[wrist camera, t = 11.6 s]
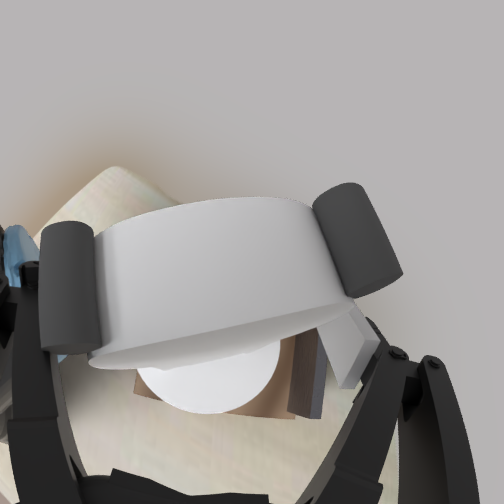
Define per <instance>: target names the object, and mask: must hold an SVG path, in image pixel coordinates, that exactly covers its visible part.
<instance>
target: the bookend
mask: <svg viewBox="0 0 504 504" xmlns="http://www.w3.org/2000/svg"><path fill="white" fill-rule="evenodd" d="M326 367H327V353H326V351H325V348H324V346H323V343H322V340H321V338H320V335H319V333H318V330H317V328H316V327H315V328H312V329H310V330H307V331H304V332H302V333H299V334H296V336H295V346H294V356H293V365H292V374H291V382H290V390H289V398H288V405H287V412H289V413H293V414H296V415H299V416H302V417H305V418H309V419H321V413H322V405H323V397H324V388H325V378H326Z"/></svg>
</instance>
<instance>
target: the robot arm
mask: <svg viewBox="0 0 504 504" xmlns="http://www.w3.org/2000/svg"><path fill="white" fill-rule="evenodd" d="M39 256H40V251H39V249H38V247H37V246H36V244H35V242H34V241H33V239H32V238H31V237H30V236H29V235H28V233H27V231H26V230H25V228H24V227H23V226H21V225H14V226H9V227H8V228H7V229H6V230H5V231H4V230H3V228H2V227H1V225H0V442H2V443H5V444H8V445H9V451H10V458H11V464H12V469H13V475H14V479H15V484H16V488H17V492H18V496H19V500H20V502H19V503H16V504H272V503H269V498H268V494H243V493H222V494H211V495H196V496H190V495H185V494H183V493H180V492H178V491H175V490H173V489H171V488H168V487H166V486H164V485H162V484H159V483H157V482H155V481H153V480H151V479H148V478H144V477H141V476H137V475H134V474H130V473H127V472H124V471H120V470H117V469H114V468H113V469H112V472H111V476H107V475H93V476H88V475H87V473H86V471H85V469H84V467H83V464H82V462H81V459H80V456H79V453H78V450H77V446H76V443H75V440H74V436H73V432H72V429H71V425H70V421H69V417H68V413H67V408H66V404H65V399H64V394H63V389H62V383H61V377H60V371H59V363H60V362H61V361H62V360H63V359H64V358H65V357H67V356H68V355H55V354H51V352H50V351H42V350H41V340H40V326H39V302H38V280H39ZM354 303H355V302H354ZM316 328H317V330H318V333H319V335H320V338H321V340H322V343H323V346H324V348H325V351H326V353H327V356H328V359H329V361H330V364H331V366H332V369H333V372H334V374H335V377H336V380H337V382H338V385H339V388H340V389H355V387H356V385H357V384H358V382H359V380H360V379H361V382H362V384H363V386H362V388H361V389H360V391H359V393H358V394H357V396H356V397H355V399H354V401H353V402H352V403H354V404H353V406H352V408H351V410H350V412H349V414H348V416H347V418H346V420H345V422H344V424H343V426H342V428H341V430H340V432H339V434H338V436H337V438H336V439H335V441H334V443H333V445H332V447H331V448H330V450H329V452H328V454H327V455H326V457H325V459H324V461H323V462H322V464H321V466H320V467H319V469H318V470H317V472H316V474H315V475H314V477H313V478H312V480H311V482H310V483H309V485H308V486H307V488H306V489H305V491H304V492H303V494H302V495H301V496H300V498H299V499H298V501H297V502H296V503H295V504H378V502H379V499H380V496H381V494H382V490H383V484H381V483H378V480H379V477H380V474H381V471H382V468H383V465H384V462H385V459H386V456H387V453H388V450H389V447H390V443H391V440H392V436H393V433H394V429H395V425H396V421H397V418H398V435H399V493H398V504H480V501H479V492H478V485H477V479H476V473H475V469H474V463H473V458H472V453H471V449H470V445H469V440H468V437H467V433H466V429H465V425H464V422H463V418H462V415H461V412H460V408H459V405H458V402H457V398H456V395H455V392H454V389H453V386H452V383H451V381H450V378H449V375H448V373H447V370H446V367H445V365H444V363H443V362H442V361H441V360H440V359H439V358H437V357H434V356H429V355H426V356H424V357H423V359H422V361H421V362H420V363H417V362H413V361H409V357H408V355H407V353H405V352H404V351H403V350H402V349H400V348H398V347H395V346H390V345H389V344H388V342H387V341H386V339H385V338H384V336H383V335H382V334H381V332H380V331H379V329H378V328H377V326H376V325H375V324H374V322H373V321H371V320H370V319H369V318H368V317H364V315H363V314H362V313H361V311H360V310H359V309H358V307H357V305H356V304H355V306H354V307H353V308H352V309H351V310H350V311H349V312H347V313H345V314H344V315H342V316H340V317H338V318H336V319H334V320H332V321H330V322H327V323H325V324H322V325H320V326H317V327H316Z"/></svg>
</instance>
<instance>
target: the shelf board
mask: <svg viewBox="0 0 504 504" xmlns="http://www.w3.org/2000/svg"><path fill="white" fill-rule="evenodd" d="M295 336H296V335H293V336H290V337H287V338H284V339H281V340H280V353H279V358H278V362H277V365H276V368H275V371H274V373H273V375H272V377H271V379H270V380H269V382H268V383H267V385H266V386H265V387H264V388H263V390H262V391H261V392H260V393H259V394H258V395H257V396H255V397H254V398H253V399H252V400H250V401H249V402H247V403H246V404H244V405H242V406H240V407H238V408H236V409H233V410H230V411H227V412H223V413H230V414H237V415H245V416H255V417H265V418H278V419H295V414H293V413H289V412H287V405H288V398H289V390H290V382H291V374H292V365H293V356H294V346H295ZM134 394H138V395H141V396H145V397H149V398H153V399H157V400H161V401H163V400H162V399H161V398H159V397H158V396H157V395H156V394H155V393H154V392H152V390H151V389H150V388H149V387H148V386H147V385H146V383H145V382H144V381H143V379H142V378H141V376H140V374H139V373H138V370H137V376H136V381H135V387H134Z"/></svg>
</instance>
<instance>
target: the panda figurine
mask: <svg viewBox="0 0 504 504" xmlns="http://www.w3.org/2000/svg"><path fill="white" fill-rule="evenodd" d="M312 208H313V209H312ZM312 208H311V207H309V206H307V205H306V204H304V203H301V202H298V201H296V200H291V199H286V198H276V197H236V198H222V199H213V200H206V201H199V202H193V203H187V204H182V205H177V206H172V207H168V208H164V209H159V210H155V211H152V212H148V213H144V214H141V215H138V216H134V217H131V218H129V219H126V220H123V221H121V222H119V223H117V224H115V225H112V226H111V227H109V228H107V229H105V230H104V231H102V232H101V233H99V234H98V235H96V236H95V237H94V232H93V230H92V228H91V227H90V226H88V225H87V224H85V223H82V222H78V221H63V222H58V223H54V224H51V225H49V226H47V227H45V228H44V229H43V231H42V233H41V242H40V256H39V280H38V302H39V326H40V340H41V350H42V351H50V352H51V354H55V355H75V354H83V353H87V356H88V362H89V365H91V366H92V367H95V368H100V369H137V370H138V373H139V374H140V376H141V378H142V379H143V381H144V382H145V383H146V385H147V386H148V387H149V388H150V389H151V390H152V392H154V393H155V394H156V395H157V396H158V397H159V398H161V399H162V400H163V401H165V402H167V403H168V404H170V405H172V406H174V407H176V408H179V409H181V410H184V411H188V412H192V413H199V414H216V413H222V412H227V411H230V410H233V409H236V408H238V407H240V406H242V405H244V404H246V403H247V402H249V401H250V400H252V399H253V398H254V397H255V396H257V395H258V394H259V393H260V392H261V391H262V390H263V388H264V387H265V386H266V385H267V383H268V382H269V380H270V379H271V377H272V375H273V373H274V371H275V368H276V365H277V362H278V358H279V353H280V340H281V339H284V338H287V337H290V336H293V335H296V334H299V333H302V332H304V331H307V330H310V329H312V328H315V327H317V326H320V325H322V324H325V323H327V322H330V321H332V320H334V319H336V318H338V317H340V316H342V315H344V314H345V313H347V312H349V311H350V310H351V309H352V308H353V307H354V306H355V303H354V300H353V298H359V297H362V296H365V295H368V294H370V293H373V292H375V291H377V290H380V289H381V288H384V287H385V286H388V285H389V284H391V283H393V282H394V281H396V280H397V279H399V278H400V277H401V276H402V275H403V272H402V269H401V267H400V264H399V262H398V260H397V257H396V255H395V253H394V250H393V248H392V246H391V244H390V242H389V239H388V237H387V235H386V233H385V230H384V228H383V226H382V224H381V222H380V220H379V218H378V216H377V214H376V212H375V210H374V208H373V206H372V204H371V202H370V200H369V198H368V196H367V194H366V192H365V190H364V189H363V187H362V186H361V185H359V184H356V183H344V184H340V185H338V186H335V187H333V188H331V189H329V190H327V191H326V192H324V193H323V194H321V195H320V196H319V197H318V198H317V199H316V200H315V201H314V203H313V205H312Z"/></svg>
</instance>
